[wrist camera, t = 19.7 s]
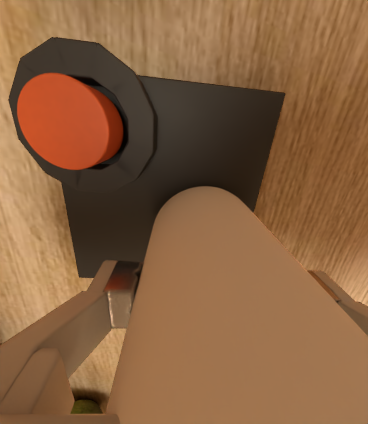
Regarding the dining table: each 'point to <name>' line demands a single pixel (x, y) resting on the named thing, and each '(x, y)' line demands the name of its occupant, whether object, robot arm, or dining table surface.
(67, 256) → the dining table surface
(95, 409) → the avocado
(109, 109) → the button
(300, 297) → the beverage can
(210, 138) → the scale
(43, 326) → the robot arm
